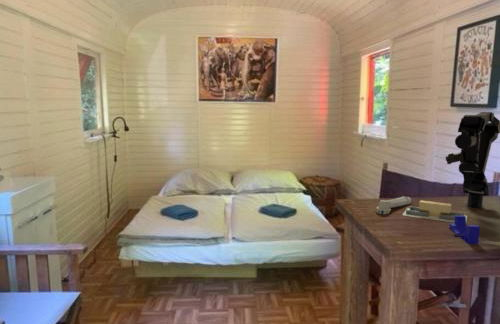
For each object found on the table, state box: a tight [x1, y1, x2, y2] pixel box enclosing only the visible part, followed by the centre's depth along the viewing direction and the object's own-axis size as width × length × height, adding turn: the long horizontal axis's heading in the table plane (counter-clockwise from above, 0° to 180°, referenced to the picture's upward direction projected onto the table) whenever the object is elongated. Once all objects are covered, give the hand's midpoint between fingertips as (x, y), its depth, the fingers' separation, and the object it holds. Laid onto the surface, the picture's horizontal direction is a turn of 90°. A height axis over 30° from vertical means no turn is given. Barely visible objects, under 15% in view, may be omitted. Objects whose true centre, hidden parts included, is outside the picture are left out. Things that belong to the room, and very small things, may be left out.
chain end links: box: [405, 205, 465, 221], centre depth 148 cm, size 7×20×2 cm, turn 58°
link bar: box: [418, 199, 452, 217], centre depth 148 cm, size 3×11×5 cm, turn 58°
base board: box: [402, 207, 468, 223], centre depth 148 cm, size 12×22×1 cm, turn 58°
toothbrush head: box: [376, 195, 413, 215], centre depth 159 cm, size 5×7×25 cm
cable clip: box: [448, 215, 481, 245], centre depth 127 cm, size 12×4×6 cm, turn 172°
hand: (467, 185), depth 150 cm, fingers open, 9 cm apart
